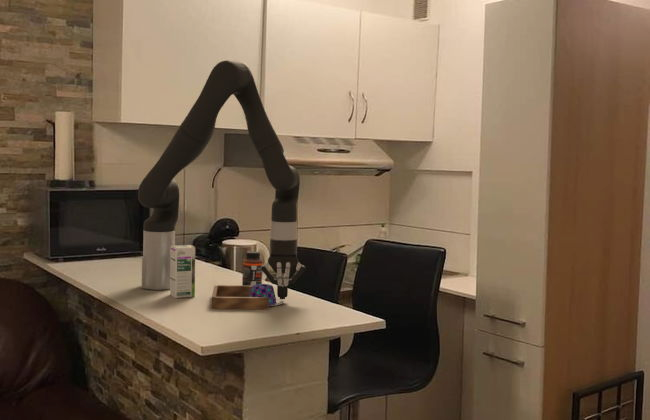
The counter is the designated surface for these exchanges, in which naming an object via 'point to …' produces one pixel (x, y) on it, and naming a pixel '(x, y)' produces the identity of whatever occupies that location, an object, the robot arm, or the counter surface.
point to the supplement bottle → (252, 269)
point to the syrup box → (182, 271)
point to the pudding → (265, 293)
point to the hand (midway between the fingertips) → (282, 298)
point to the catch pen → (236, 298)
